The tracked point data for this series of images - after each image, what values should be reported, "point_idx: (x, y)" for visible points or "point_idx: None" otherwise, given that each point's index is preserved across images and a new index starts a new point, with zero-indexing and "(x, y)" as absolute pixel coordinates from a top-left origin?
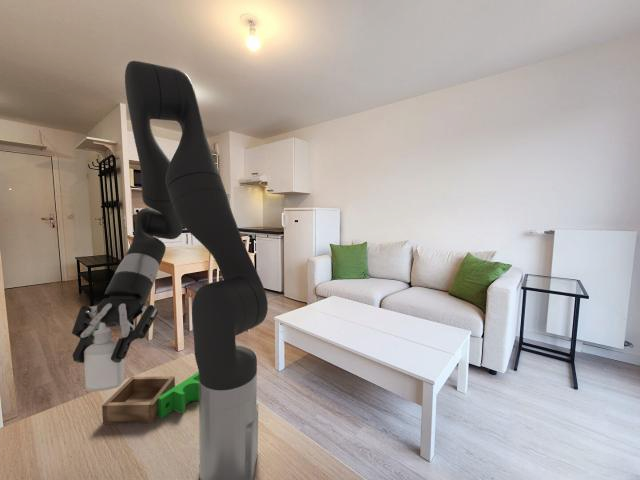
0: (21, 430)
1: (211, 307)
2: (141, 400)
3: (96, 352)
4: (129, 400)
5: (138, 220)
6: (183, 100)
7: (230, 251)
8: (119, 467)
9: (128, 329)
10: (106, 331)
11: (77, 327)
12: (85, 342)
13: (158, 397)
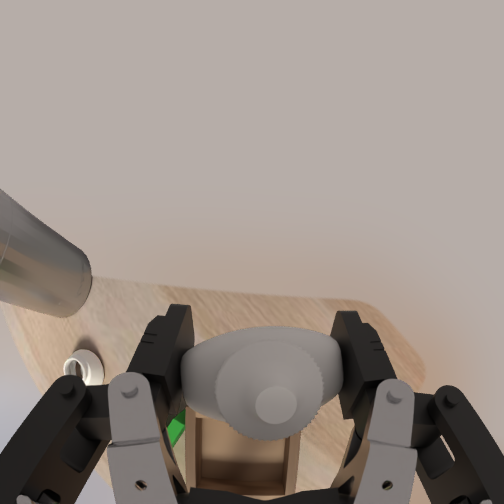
0: (418, 380)
1: None
2: (250, 458)
3: (267, 327)
4: (276, 460)
5: None
6: None
7: None
8: (205, 301)
9: (111, 414)
10: (227, 371)
11: (460, 418)
12: (357, 364)
13: (182, 425)
